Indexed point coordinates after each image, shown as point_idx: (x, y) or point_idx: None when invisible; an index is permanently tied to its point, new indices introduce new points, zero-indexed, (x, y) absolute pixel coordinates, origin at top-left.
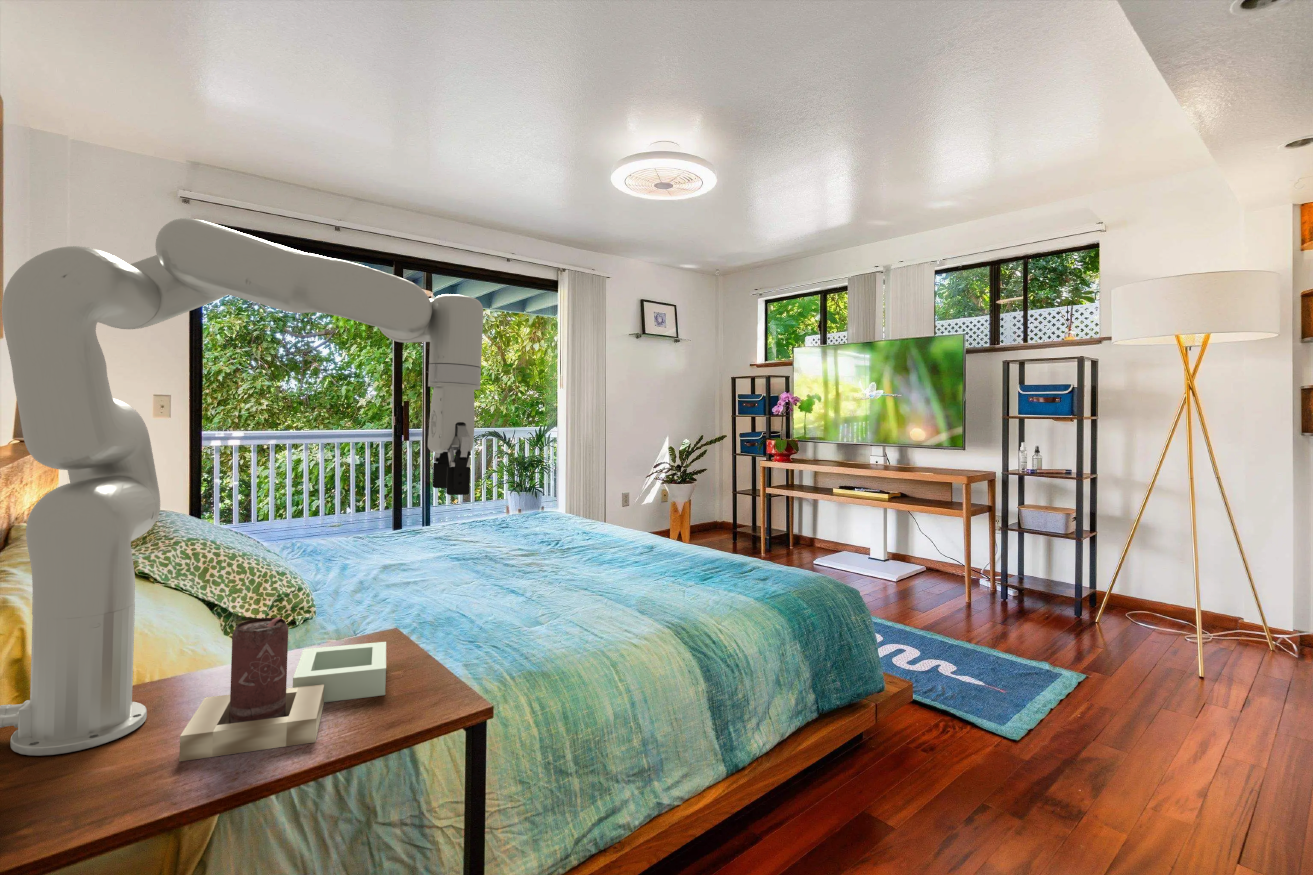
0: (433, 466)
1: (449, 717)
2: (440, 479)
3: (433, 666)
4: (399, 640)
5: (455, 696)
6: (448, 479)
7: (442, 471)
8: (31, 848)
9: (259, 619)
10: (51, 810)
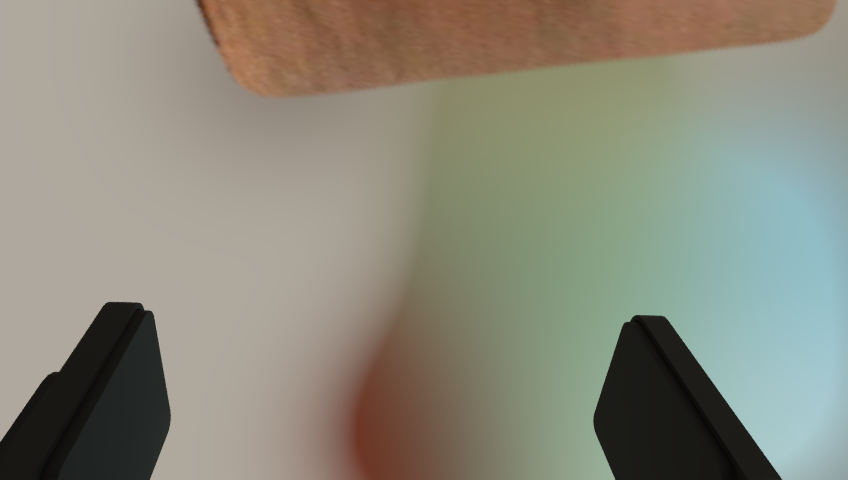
0: (746, 444)
1: (224, 20)
2: (639, 396)
3: (524, 69)
4: (750, 39)
5: (327, 64)
6: (56, 390)
7: (664, 462)
8: None
9: None
10: None
